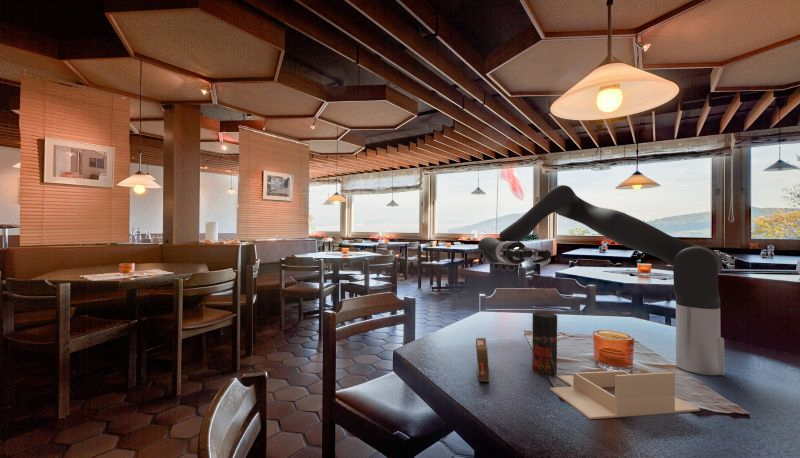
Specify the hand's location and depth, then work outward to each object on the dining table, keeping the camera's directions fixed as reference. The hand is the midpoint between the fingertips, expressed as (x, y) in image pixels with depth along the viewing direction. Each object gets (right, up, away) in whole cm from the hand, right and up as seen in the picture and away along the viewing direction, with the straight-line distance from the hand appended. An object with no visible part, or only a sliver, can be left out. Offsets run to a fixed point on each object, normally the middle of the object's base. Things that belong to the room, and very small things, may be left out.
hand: (536, 254), depth 104 cm
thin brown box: (-20, -30, -15) cm, 39 cm away
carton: (+7, -30, -25) cm, 39 cm away
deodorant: (-3, -30, -13) cm, 33 cm away
